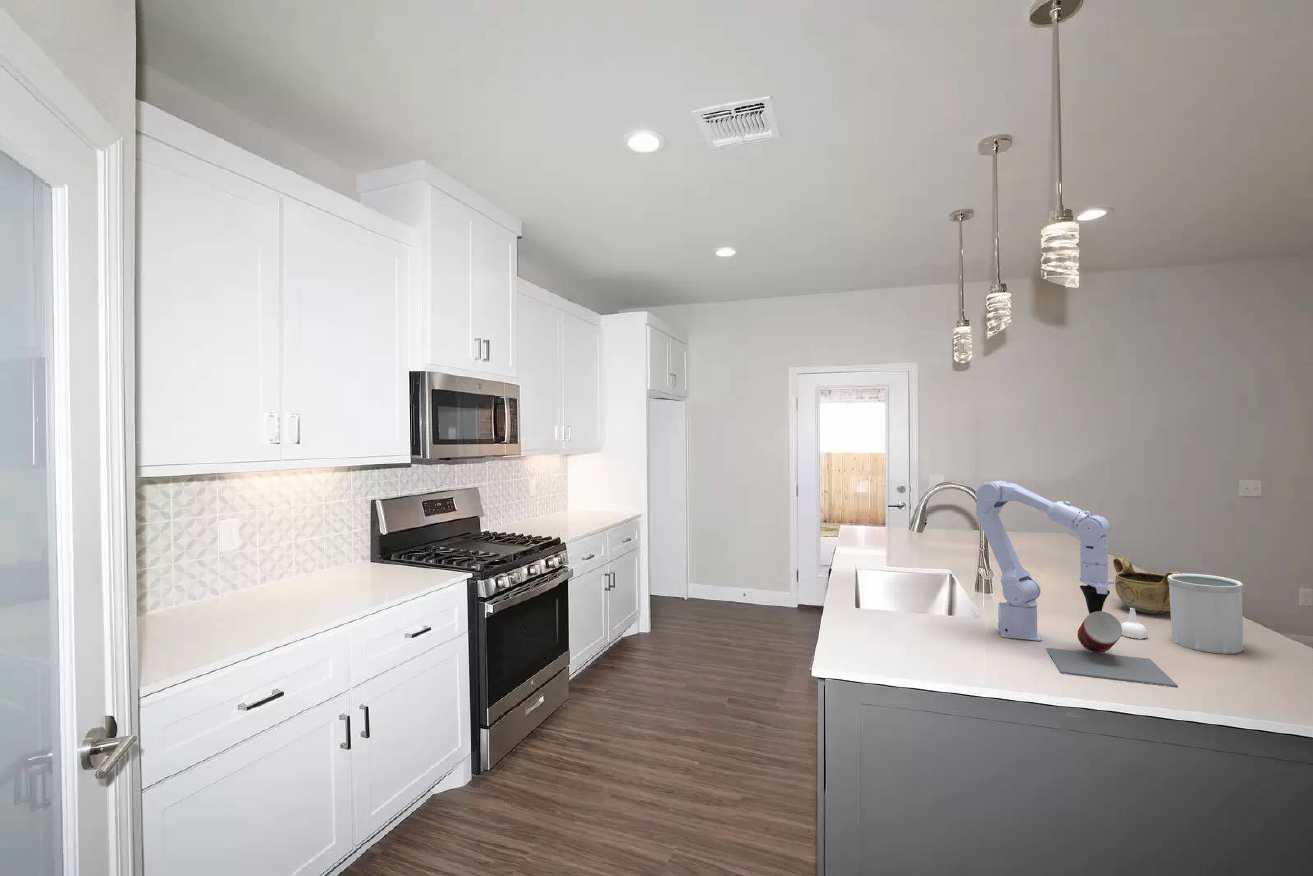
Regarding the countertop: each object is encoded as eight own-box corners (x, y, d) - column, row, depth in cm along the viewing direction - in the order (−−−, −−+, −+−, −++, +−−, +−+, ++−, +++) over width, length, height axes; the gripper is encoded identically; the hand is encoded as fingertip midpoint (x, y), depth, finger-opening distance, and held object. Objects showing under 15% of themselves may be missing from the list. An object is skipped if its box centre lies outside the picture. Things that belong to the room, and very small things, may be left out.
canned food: (1112, 626, 155) (1122, 614, 146) (1112, 657, 152) (1122, 647, 143) (1077, 619, 159) (1084, 607, 150) (1076, 649, 155) (1084, 638, 147)
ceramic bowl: (1094, 602, 198) (1094, 557, 198) (1142, 600, 199) (1142, 556, 199) (1155, 623, 176) (1154, 573, 176) (1209, 621, 177) (1208, 571, 177)
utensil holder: (1167, 646, 158) (1166, 580, 158) (1169, 632, 168) (1168, 570, 168) (1245, 659, 148) (1244, 589, 147) (1242, 643, 158) (1241, 578, 158)
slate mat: (1060, 673, 141) (1060, 671, 141) (1046, 649, 157) (1046, 647, 157) (1177, 687, 133) (1177, 685, 133) (1150, 660, 148) (1150, 658, 148)
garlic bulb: (1152, 642, 162) (1155, 613, 162) (1126, 639, 163) (1128, 610, 163) (1138, 634, 168) (1141, 607, 168) (1113, 631, 170) (1116, 604, 169)
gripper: (1122, 569, 145) (1122, 625, 145) (1104, 558, 159) (1105, 608, 159) (1087, 567, 148) (1088, 622, 148) (1073, 556, 161) (1073, 606, 161)
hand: (1094, 615), depth 154 cm, fingers closed
